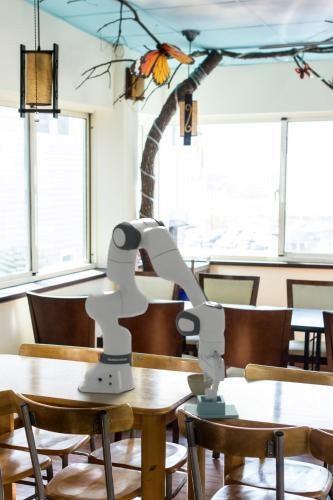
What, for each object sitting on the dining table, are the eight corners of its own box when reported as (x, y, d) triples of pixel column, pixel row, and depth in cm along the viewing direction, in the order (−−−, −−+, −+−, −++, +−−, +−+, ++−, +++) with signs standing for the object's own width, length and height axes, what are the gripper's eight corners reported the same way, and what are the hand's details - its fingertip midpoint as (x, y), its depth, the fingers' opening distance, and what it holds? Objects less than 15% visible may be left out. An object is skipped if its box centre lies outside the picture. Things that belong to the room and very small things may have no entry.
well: (186, 418, 245) (186, 404, 244) (184, 407, 257) (184, 394, 256) (238, 417, 246) (238, 403, 245) (234, 407, 258) (234, 393, 257)
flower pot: (185, 391, 278) (185, 373, 277) (210, 391, 278) (211, 373, 278) (188, 399, 268) (188, 380, 267) (214, 398, 269) (214, 380, 268)
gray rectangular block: (206, 412, 249) (206, 389, 248) (202, 408, 253) (202, 386, 252) (217, 411, 250) (217, 388, 249) (213, 407, 254) (213, 385, 253)
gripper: (229, 355, 239) (228, 395, 240) (212, 341, 259) (211, 378, 260) (211, 355, 238) (211, 396, 239) (195, 342, 257) (194, 379, 259)
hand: (211, 386), depth 250 cm, fingers open, 8 cm apart
